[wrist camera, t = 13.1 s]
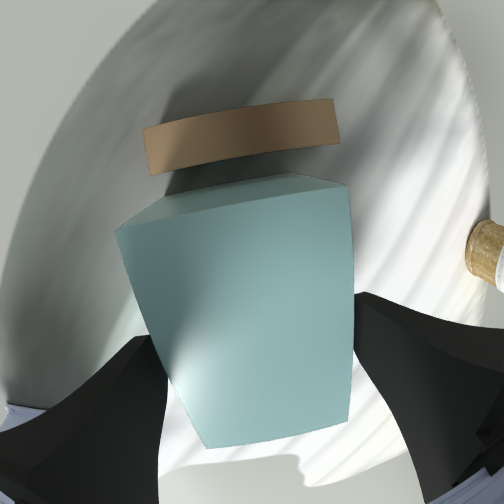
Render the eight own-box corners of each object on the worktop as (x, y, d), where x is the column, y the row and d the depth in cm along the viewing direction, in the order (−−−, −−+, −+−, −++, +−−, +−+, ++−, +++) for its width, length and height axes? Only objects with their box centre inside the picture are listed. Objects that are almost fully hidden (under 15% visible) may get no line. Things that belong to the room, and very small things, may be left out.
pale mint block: (208, 358, 17) (206, 449, 10) (164, 196, 14) (114, 230, 7) (309, 338, 17) (347, 421, 11) (290, 172, 14) (347, 185, 7)
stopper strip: (163, 172, 13) (150, 175, 11) (155, 134, 13) (141, 129, 10) (321, 145, 14) (340, 143, 11) (315, 107, 13) (332, 98, 11)
